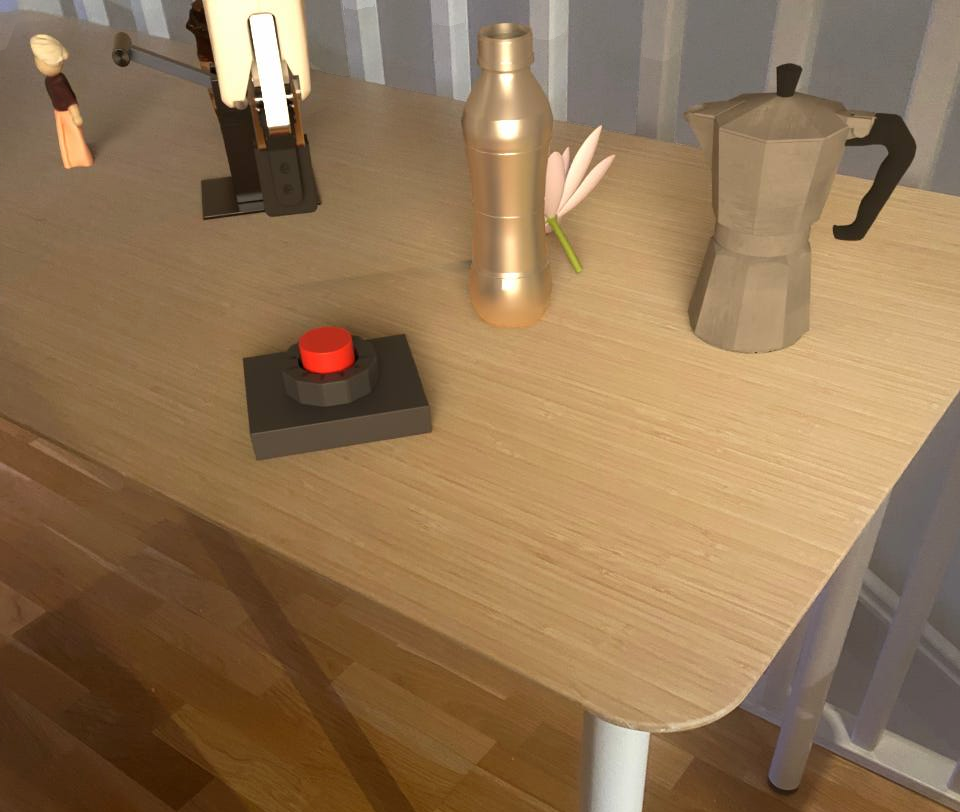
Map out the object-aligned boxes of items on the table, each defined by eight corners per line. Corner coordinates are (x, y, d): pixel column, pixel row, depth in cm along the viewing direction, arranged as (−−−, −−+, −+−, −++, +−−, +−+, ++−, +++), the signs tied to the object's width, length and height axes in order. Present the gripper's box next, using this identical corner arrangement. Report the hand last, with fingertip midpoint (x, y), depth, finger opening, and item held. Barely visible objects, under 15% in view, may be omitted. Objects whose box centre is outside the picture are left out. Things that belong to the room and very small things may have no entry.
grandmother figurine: (51, 167, 105) (5, 31, 95) (84, 156, 106) (42, 22, 97) (85, 186, 100) (40, 47, 91) (119, 175, 102) (78, 37, 93)
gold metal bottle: (541, 292, 81) (542, 11, 66) (560, 333, 76) (565, 40, 62) (464, 302, 80) (447, 21, 66) (478, 343, 75) (464, 51, 61)
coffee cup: (221, 158, 104) (190, 18, 95) (203, 133, 110) (172, -2, 100) (300, 142, 106) (277, 3, 97) (279, 119, 112) (255, -15, 102)
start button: (305, 380, 66) (300, 356, 65) (300, 353, 69) (296, 330, 67) (358, 372, 66) (354, 348, 65) (351, 345, 69) (348, 322, 68)
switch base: (256, 461, 66) (243, 410, 63) (248, 384, 73) (236, 334, 70) (431, 433, 67) (427, 382, 65) (408, 359, 74) (402, 310, 71)
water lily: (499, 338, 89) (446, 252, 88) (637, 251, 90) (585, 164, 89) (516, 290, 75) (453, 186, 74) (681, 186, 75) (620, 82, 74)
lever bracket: (205, 229, 92) (171, 91, 83) (203, 192, 98) (171, 60, 90) (322, 214, 93) (300, 76, 85) (313, 178, 99) (292, 47, 91)
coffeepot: (646, 339, 75) (669, 78, 62) (679, 284, 81) (706, 35, 68) (855, 375, 70) (927, 101, 57) (874, 313, 76) (943, 52, 63)
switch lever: (110, 69, 83) (114, 39, 82) (112, 52, 86) (116, 23, 85) (253, 119, 88) (259, 91, 87) (250, 100, 91) (256, 73, 90)
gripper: (152, -188, 52) (226, 170, 65) (146, -141, 42) (235, 271, 55) (294, -197, 53) (338, 158, 66) (321, -153, 43) (367, 255, 56)
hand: (291, 208), depth 61 cm, fingers closed
